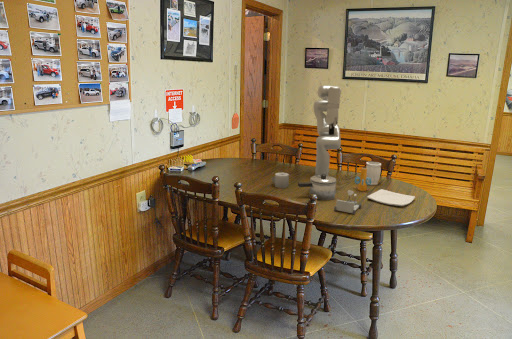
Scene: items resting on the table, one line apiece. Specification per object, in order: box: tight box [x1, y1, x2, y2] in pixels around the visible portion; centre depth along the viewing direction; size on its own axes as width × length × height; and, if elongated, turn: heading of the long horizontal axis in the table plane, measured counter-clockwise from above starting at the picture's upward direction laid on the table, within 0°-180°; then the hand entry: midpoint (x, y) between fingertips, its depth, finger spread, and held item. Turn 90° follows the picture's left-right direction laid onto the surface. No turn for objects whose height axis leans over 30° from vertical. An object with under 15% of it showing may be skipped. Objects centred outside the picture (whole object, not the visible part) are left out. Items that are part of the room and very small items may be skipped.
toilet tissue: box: [270, 172, 290, 189], centre depth 278 cm, size 9×13×9 cm
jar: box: [365, 161, 382, 186], centre depth 289 cm, size 11×10×15 cm
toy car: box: [333, 189, 362, 216], centre depth 237 cm, size 18×10×12 cm
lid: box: [310, 174, 337, 184], centre depth 257 cm, size 17×16×4 cm
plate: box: [366, 188, 416, 207], centre depth 256 cm, size 24×24×3 cm
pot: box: [297, 178, 337, 201], centre depth 258 cm, size 16×24×10 cm
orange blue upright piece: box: [354, 167, 371, 192], centre depth 274 cm, size 12×10×15 cm
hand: (331, 134), depth 266 cm, fingers closed
